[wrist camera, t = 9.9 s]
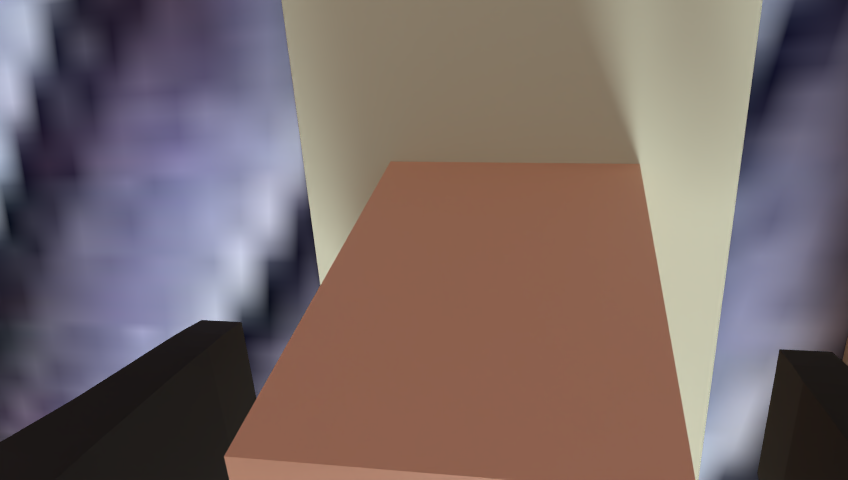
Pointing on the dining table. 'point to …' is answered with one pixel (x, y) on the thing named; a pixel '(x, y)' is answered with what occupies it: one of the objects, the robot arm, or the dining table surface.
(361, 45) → the mat
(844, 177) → the dining table surface
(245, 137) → the dining table surface
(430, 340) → the block
